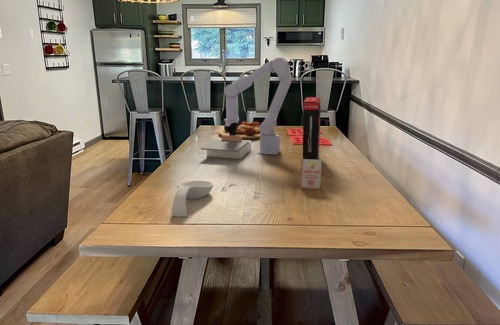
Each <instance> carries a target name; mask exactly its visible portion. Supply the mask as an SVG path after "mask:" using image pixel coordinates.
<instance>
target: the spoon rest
mask: <svg viewBox="0 0 500 325" xmlns="http://www.w3.org/2000/svg"><path fill="white" fill-rule="evenodd" d="M213 188H214V183H213V182H211V181H207V180H188V181H185V182H184V181H183V182H180V183H178V184H177V190H176V192H175V194H174V195H175V196H174V198H173V201H172V202H173V203H172V205H171V216H172V217H178V218H184V217H188V210H187V199H191V200H196V199H197V200H198V199H202V198H204V197H205V196H207V195H208V194H210V192H211V191H212V190H213Z"/></svg>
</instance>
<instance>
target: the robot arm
mask: <svg viewBox="0 0 500 325" xmlns="http://www.w3.org/2000/svg"><path fill="white" fill-rule="evenodd" d="M272 72H274V73H275V74H276V75H277V77H278V79H279V81H280V82H279V84H278V86H277V89H276V92H275V94H274V96H273V99H272V101H271V104H270V106H269V109H268V112H267V114H266V115H265V117H264V120H263V122H261V123H260V132H261V133H260V139H259V150H258V151H257V154H261V155H262V154H263V155H275V156H276V155H278V154H279V153H280V151H281V134H276V132H275V131H274V130H275V128H276V121H277V119H278V115H279V112H280V111H281V108H282V105H283V102H284V100H285V98H286V95H287V94H288V90H289V88H290V86H291V84H292V81H293V80H292V79H293V78H292V73H291V67H290V63H288V60H287V59H286V58H284V57H276V58H274V59H273V60H270V61H268V62H266V63H264V64H263V65H261V66H259V67H258V68H257V69H255V70H254V71H253V72H251V73H250V74H249V75H248V74H241V75H240V76H239V78H238V79H236V80H235V81H234V80H233V81H232V82H231V83H230V84H227V85H226V86H225V88H224V95H225V109H226V110H225V113H226V114H225V115H226V118H224V119H223V122H225V123H224V126H226V127H227V129H228V131H229V135H236V132H237V128H238V126H239V125H240V123H239V121H240V117H239V96H238V95H239V94H240V93H242V92H244V91H245V90H247V89H248V88H250V87H251V86H252V85H253V81H255V80H257V79H259V78H261V77H262V76H263V75H265V74H267V73H272ZM236 122H238V123H236Z"/></svg>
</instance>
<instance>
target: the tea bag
mask: <svg viewBox="0 0 500 325" xmlns="http://www.w3.org/2000/svg"><path fill="white" fill-rule="evenodd" d="M322 162H323V160H322V159H318V160H310V159H303V158H301V167H300V189H309V190H311V189H312V190H321V184H322V183H321V182H322V180H321V178H322V165H323V164H322Z"/></svg>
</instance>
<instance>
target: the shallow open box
mask: <svg viewBox="0 0 500 325" xmlns="http://www.w3.org/2000/svg"><path fill="white" fill-rule="evenodd" d="M219 140H221V138H220V139H219ZM242 141H249V143H248V144H246V145H245V146H244V147H243V148H241V149H240V150H239V151H237V152H230V151H216V150H206V157H208V158H220V159H234V160H241V159H242V158H243V157H245V155H247V154H248V153H249V152H250V151H251V150H252V140H242Z"/></svg>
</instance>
